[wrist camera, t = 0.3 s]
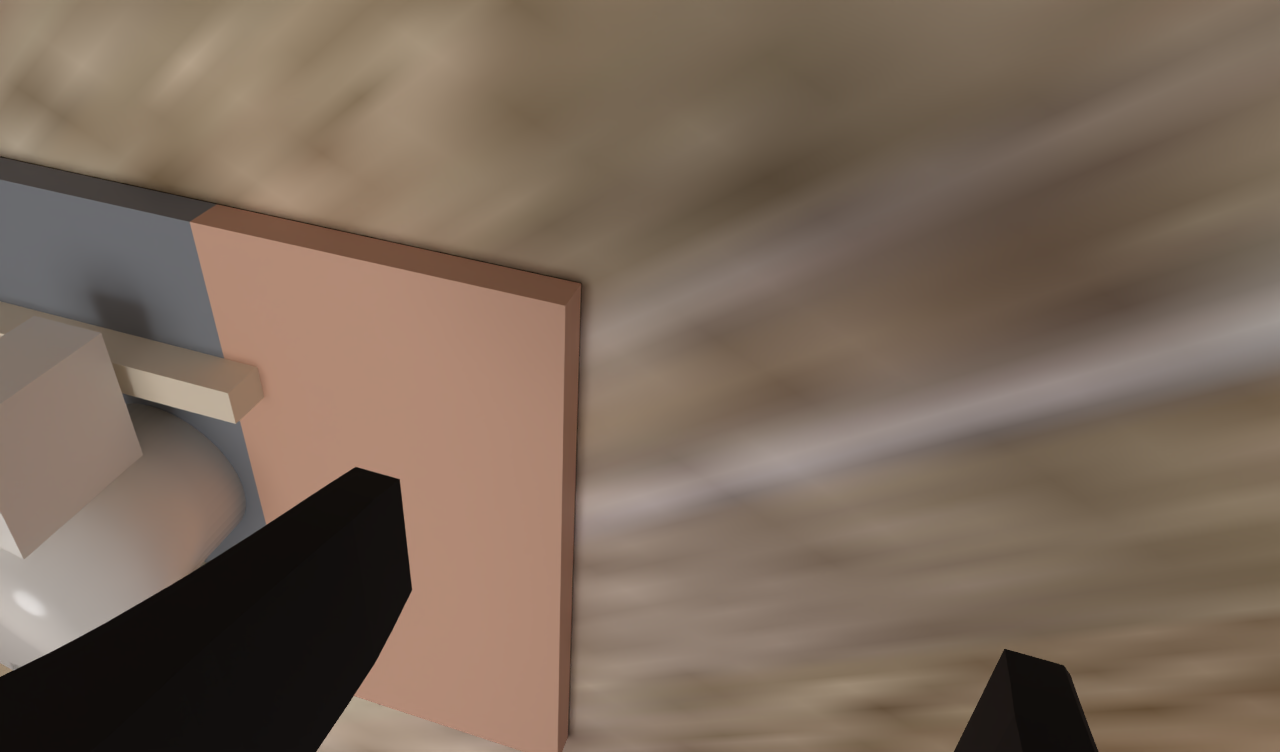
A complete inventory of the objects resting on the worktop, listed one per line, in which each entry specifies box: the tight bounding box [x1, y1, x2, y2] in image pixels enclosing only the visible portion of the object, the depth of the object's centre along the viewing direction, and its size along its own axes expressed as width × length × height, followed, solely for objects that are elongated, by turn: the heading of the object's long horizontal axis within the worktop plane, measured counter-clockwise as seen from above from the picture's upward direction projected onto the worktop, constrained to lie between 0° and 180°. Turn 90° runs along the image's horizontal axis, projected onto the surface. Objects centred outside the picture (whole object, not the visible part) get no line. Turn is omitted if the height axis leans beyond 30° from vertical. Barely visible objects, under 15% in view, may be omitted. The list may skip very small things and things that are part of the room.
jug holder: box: [0, 157, 581, 752], centre depth 27 cm, size 18×19×2 cm
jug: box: [0, 316, 246, 670], centre depth 25 cm, size 10×5×6 cm, turn 176°
